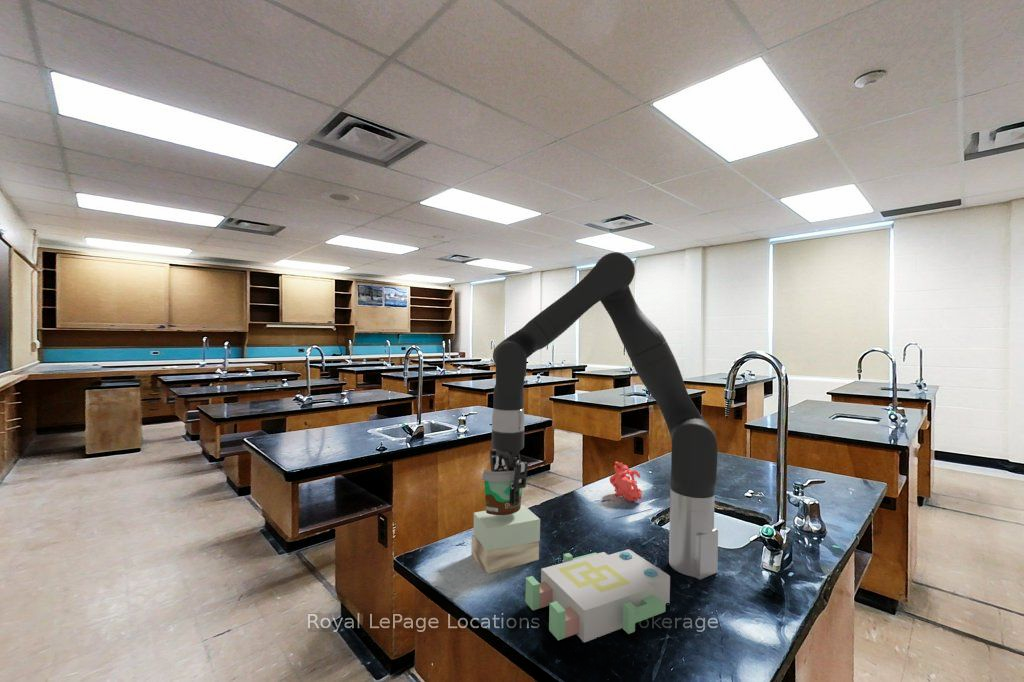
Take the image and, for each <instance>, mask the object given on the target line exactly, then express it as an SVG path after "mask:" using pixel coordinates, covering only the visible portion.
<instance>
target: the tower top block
mask: <svg viewBox="0 0 1024 682" xmlns="http://www.w3.org/2000/svg"><path fill="white" fill-rule="evenodd" d="M472 535H475V536H476V538H477V539H478V540H479V542H480V543H481V545H482V546H483V547H484V549H485V550H486V551H492V550H497V549H502V548H507V547H512V546H517V545H522V544H527V543H532V542H537V541H539V542H540V541H541V518H539V516H537V515H536V514H535V513H534V512H532V510H530V509H529V508H528V507H527V506H526V505H524V504H521V507H520V510H519V511H518V512H516V513H513V514H509V515H492V514H488V513H486V510H481V511H480V510H479V511H476V512H473V534H472Z"/></svg>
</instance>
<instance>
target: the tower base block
mask: <svg viewBox="0 0 1024 682" xmlns="http://www.w3.org/2000/svg"><path fill="white" fill-rule="evenodd" d="M470 553H471V556H472V557H473V559H474V560H475V561H476V562H477V564H479V566H480V567H481V568H482V569H483V570H484V572H485V573H486V572H487V573H488V574H487V573H486V574H487V575H490V574H489V573H491V574H493V572H494V573H498V572H500V571H504V570H509V569H511V568H515V567H518V566H522V565H525V564H529V563H533V562H536V561H539V559H540V541H537V542H532V543H527V544H522V545H517V546H512V547H507V548H502V549H497V550H492V551H486V550H485V549H484V547H483V546H482V545H481V543H480V542H479V540H478V539H477V538H476V536H475V535H474V534H472V535H471V552H470ZM497 571H498V572H497Z"/></svg>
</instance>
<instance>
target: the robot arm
mask: <svg viewBox="0 0 1024 682" xmlns="http://www.w3.org/2000/svg"><path fill="white" fill-rule="evenodd" d="M635 273H636V268H635V264H634V261H633V260H632V258H631V257H629V256H628V255H627V254H625V253H623V252H620V251H619V252H618V251H617V252H616V251H614V252H609V253H607V254H605V255H603V256H602V257H600V259H598V261H597V262H596V264H595V265H594V266H593V268H592V269H591V270H590V271H589V272H588V273H587V274H586V275H585V276H584V277H583V278H582V279H581V280H580V281H579V282H578V283H577V284H575V285H574V286H573V287H572V288H571V289H570V290H568V291H567V292H566V293H565V294H563V295H562V296H560V297H559V298H558V299H557V300H555V301H554V302H552V303H551V304H550V305H548V306H547V307H546V308H545V309H543V310H542V311H540V312H539V313H538V314H537V315H535V316H534V317H533V318H532V319H531V320H529V321H528V322H527V323H526V324H525V325H524V326H523V327H522V328H520V329H518V330H516V332H514V333H513V334H512V333H511V335H510V336H509V335H508V337H506V338H505V339H504V340H502V341H501V342H499V343H498V344H497V345H496V346H495V348H494V350H493V352H492V353H493V354H492V360H493V363H494V365H495V384H494V388H493V396H492V397H493V403H492V404H493V405H492V406H493V408H492V416H491V447H492V449H490V450H489V461H490V471H494V470H495V469H497V468H499V467H501V468H502V469H503V470H504V471H505V472H507V471H513V470H515V476H514V484H513V481H510V503H509V504H510V505H511V506H515V505H518V504H519V490H520V488H522V489H525V488H526V485H527V478H528V477H527V476H528V467H529V466H528V465H529V463H528V462H527V461H522V460H521V456H520V451H521V450H523V449H524V448H525V413H524V410H525V408H524V404H525V403H524V401H525V400H524V399H525V394H524V385H525V380H526V379H525V378H526V369H527V359H528V358H529V357H530V356H531V355H533V354H534V353H536V352H537V351H540V350H542V349H543V348H546V347H547V346H549V345H550V344H551V343H553V341H555V340H556V339H558V338H559V337H560V336H561V335H562V334H563V333H565V332H566V331H567V330H568V329H569V328H571V326H572V325H574V323H576V322H577V321H578V320H579V319H580V318H581V317H582V316H583V315H584V314H585V313H586V312H588V311H589V310H590V309H591V308H593V306H595V305H596V304H597V303H599V302H600V303H601V304H602V306H603V308H604V309H605V311H606V312H607V314H608V316H609V317H610V319H611V321H612V323H613V325H614V327H615V329H616V332H617V334H618V337H619V339H620V341H621V343H622V346H624V349H625V351H626V353H627V356H628V358H629V360H630V362H631V364H632V366H633V368H634V370H635V372H636V374H637V376H638V377H639V379H640V381H641V382H642V384H643V385H644V387H645V388H646V390H647V391H648V392H649V394H650V396H652V399H654V401H655V402H656V404H657V406H658V407H659V410H660V411H661V414H662V416H663V419H664V422H665V424H666V427H667V428H668V433H669V435H670V439H671V440H670V441H671V454H670V455H671V457H670V458H671V459H670V460H671V463H670V465H671V466H670V468H671V469H670V470H671V471H670V477H669V478H670V479H669V480H670V484H669V485H670V487H669V489H670V490H669V492H670V493H669V530H668V531H669V532H668V533H669V537H668V538H669V539H668V540H669V541H668V543H669V544H668V545H669V546H668V550H669V551H668V563H669V566H670V567H671V568H672V569H673V570H674V571H676V572H678V573H680V574H682V575H685V576H688V577H692V578H696V579H698V580H703V579H705V578H708V577H709V576H712V575H714V574H716V573H717V574H718V564H719V563H718V557H719V556H718V555H719V553H718V551H719V530H718V529H717V528H715V497H716V496H715V492H716V484H717V476H718V475H717V474H718V452H719V451H718V441H717V437H716V434H715V433H714V431H713V430H712V428H711V427H710V425H709V424H708V423H707V421H706V420H705V419H704V417H703V415H702V414H701V413H700V411H699V409H698V408H697V407H696V405H695V403H694V402H693V400H692V399H691V396H690V394H689V392H688V390H687V387H686V385H685V381H684V379H683V375H682V372H681V370H680V367H679V365H678V363H677V360H676V358H675V356H674V355H675V354H673V352H672V350H671V349H672V348H671V347H670V346H669V344H668V341H667V340H666V337H665V336H664V334H663V333H662V331H660V329H659V328H658V326H656V325H655V324H654V323H653V321H652V320H650V319H649V317H647V315H646V314H644V312H643V311H642V310H641V308H640V307H639V305H638V304H637V302H636V299H635V297H634V295H633V294H632V291H631V288H630V285H631V284H632V281H633V280H634V277H635ZM520 479H522V480H521V481H520Z"/></svg>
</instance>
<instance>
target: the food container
mask: <svg viewBox="0 0 1024 682" xmlns="http://www.w3.org/2000/svg"><path fill="white" fill-rule="evenodd" d="M514 476H515V470H513V471H507V472H505V471H504V470H503V469H502V468H501V467H499V468H497V469H495V470H494V471H491V470H486V469H484V470H483V473H482V478H481V480H483V482H484V498H485V499H484V500H485V511H486V513H488V514H492V515H509V514H513V513H516V512H518V511H519V510H520V507H521V505H522V497H523V496H522V494H523V493H522V492H523V488H520V490H519V504H518V505H515V506H511V505H510V504H509V503H510V481H513V484H514ZM521 480H522V479H520V481H521Z"/></svg>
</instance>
